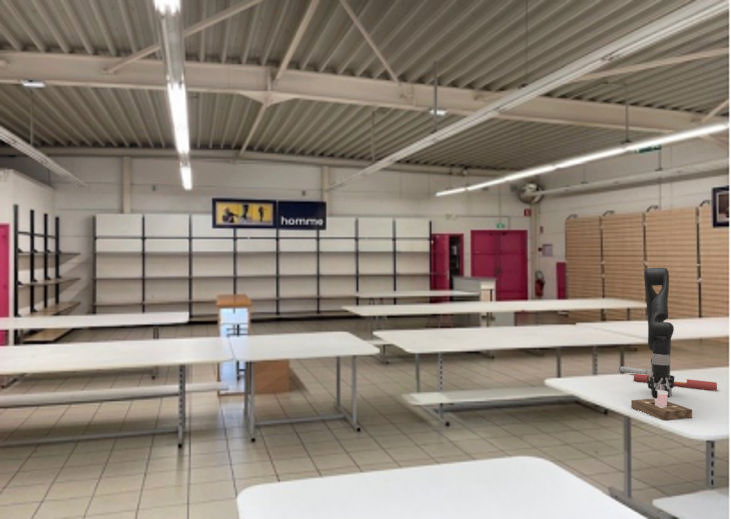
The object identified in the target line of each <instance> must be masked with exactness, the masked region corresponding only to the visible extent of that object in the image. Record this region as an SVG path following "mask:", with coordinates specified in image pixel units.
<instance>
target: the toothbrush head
mask: <svg viewBox="0 0 731 519" xmlns="http://www.w3.org/2000/svg"><path fill="white" fill-rule="evenodd" d="M618 371H619V372H620V373H623V374H643V375H651V368H649V369H648V368H647V369H646V368H645V369H644V368H639V367H631V366H619V368H618Z"/></svg>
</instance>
